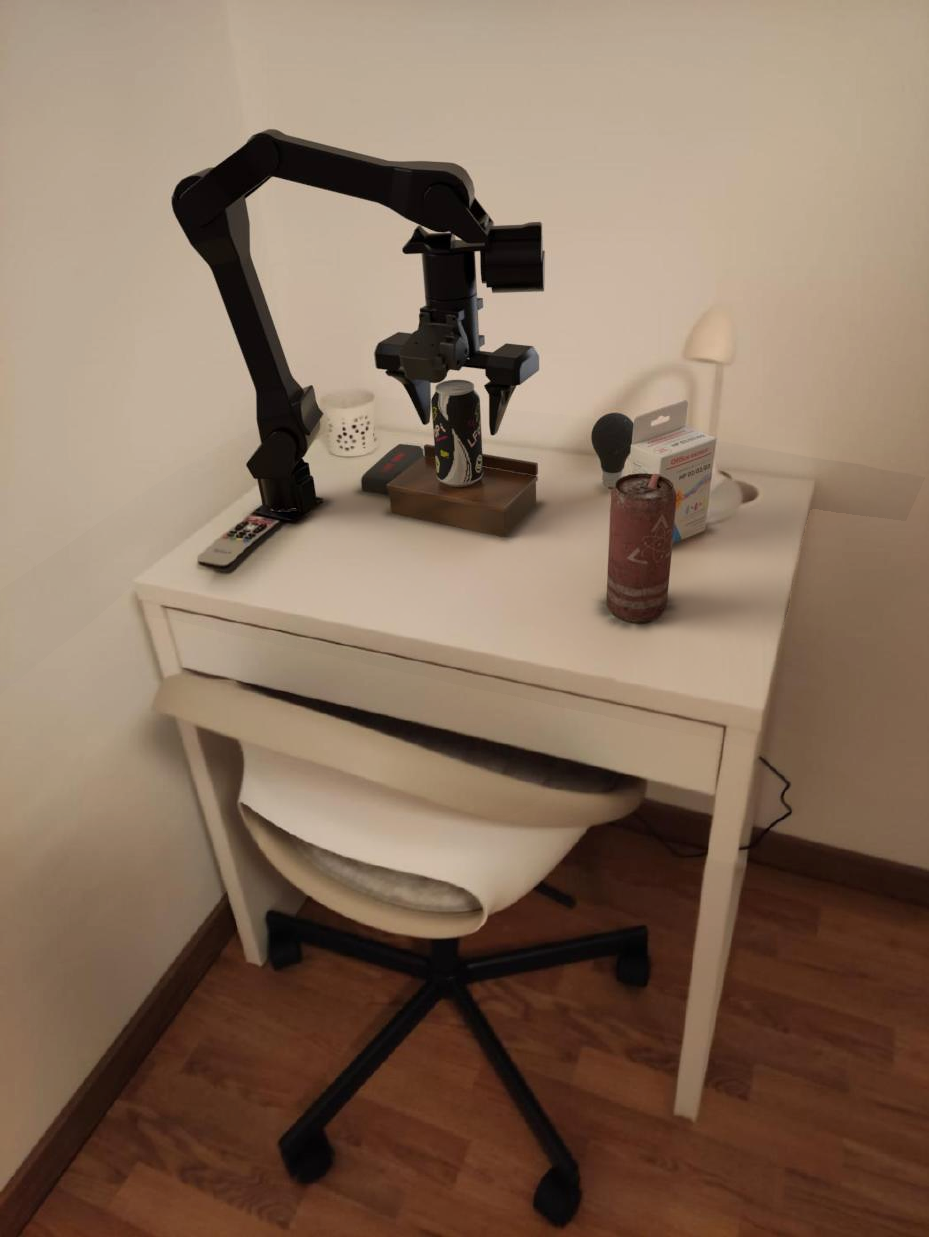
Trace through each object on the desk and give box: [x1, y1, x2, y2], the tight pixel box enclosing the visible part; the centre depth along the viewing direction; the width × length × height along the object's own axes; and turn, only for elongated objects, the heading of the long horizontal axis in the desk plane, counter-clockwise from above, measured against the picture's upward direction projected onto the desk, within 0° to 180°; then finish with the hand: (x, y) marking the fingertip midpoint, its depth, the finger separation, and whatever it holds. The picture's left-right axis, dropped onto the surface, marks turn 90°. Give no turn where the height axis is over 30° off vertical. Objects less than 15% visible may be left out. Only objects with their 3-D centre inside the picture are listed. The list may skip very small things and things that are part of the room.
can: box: [605, 473, 677, 624], centre depth 87 cm, size 6×6×14 cm
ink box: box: [628, 399, 717, 544], centre depth 99 cm, size 8×5×15 cm, turn 123°
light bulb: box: [590, 412, 634, 490], centre depth 111 cm, size 6×6×10 cm
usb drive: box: [360, 442, 425, 496], centre depth 120 cm, size 5×12×3 cm, turn 158°
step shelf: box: [386, 443, 539, 538], centre depth 110 cm, size 16×10×6 cm, turn 62°
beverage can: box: [431, 379, 484, 487], centre depth 105 cm, size 6×6×12 cm
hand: (459, 429), depth 105 cm, fingers open, 9 cm apart
